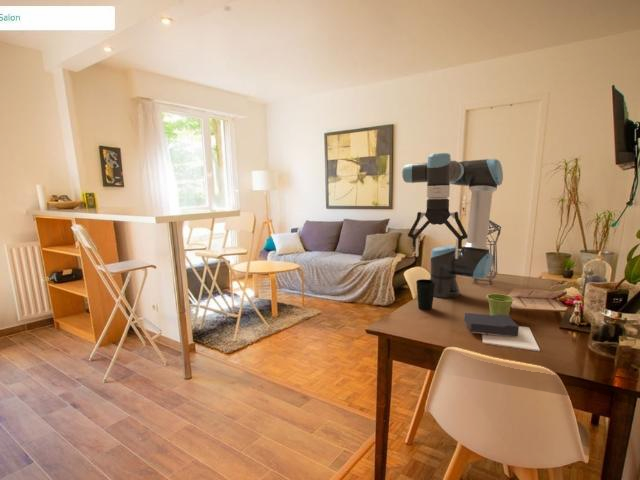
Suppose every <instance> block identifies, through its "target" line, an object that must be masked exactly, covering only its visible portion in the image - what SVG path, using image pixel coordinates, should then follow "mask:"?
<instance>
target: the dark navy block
mask: <svg viewBox="0 0 640 480" xmlns="http://www.w3.org/2000/svg"><path fill="white" fill-rule="evenodd" d="M464 323H465V324H466V325H467V327H468V329H469V331H470V332H471V334H472V333H473V334H481V335H482V334H486V333H487V334H489V335H499V336H502V335H504V336H513V337H516V336H518V329H519V326H520V325H518V324H517V323H516V322H515V321H514V320H513V319H512V318H511V317H510V315H509V316H508V315H499V314H497V315H495V316H494V315H490V314H481V313H471V312H465V313H464Z"/></svg>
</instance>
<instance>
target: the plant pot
mask: <svg viewBox="0 0 640 480" xmlns="http://www.w3.org/2000/svg"><path fill="white" fill-rule="evenodd" d="M486 299H487V302H488V306H489V315H494V316H495V315H497V314H499V315H508V316H509V317H510V312H511V307H512V304H513V302H514V300H515V298H514V297H513V296H510V295H507V294H501V293H489V294H486Z"/></svg>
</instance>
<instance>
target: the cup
mask: <svg viewBox="0 0 640 480" xmlns="http://www.w3.org/2000/svg"><path fill="white" fill-rule="evenodd" d="M434 288H435V282H434V281H432V280H430V279H427V278H426V279H424V278H422V279H420V278H419V279H417V280H416V293H417V305H418V306H417V307H418V310H420V311H424V312H429V311H431V310H432V309H433V303H434V297H435V296H434Z"/></svg>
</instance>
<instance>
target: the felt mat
mask: <svg viewBox="0 0 640 480" xmlns="http://www.w3.org/2000/svg"><path fill="white" fill-rule="evenodd" d="M518 326H519V329H518V336H516V337H513V336H504V335H502V336H499V335H489V334H487V333H486V334H481V339H482V344H485V345H491V346H492V345H493V346H499V347H505V348H506V347H507V348H513V349H520V350H527V351H535V352H541V349H540V347H539V345H538V343H537V341H536V340H535V339H536V338H535V337H534V335H533V333H532V331H531V329H530V327H528V326H520V325H518Z"/></svg>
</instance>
